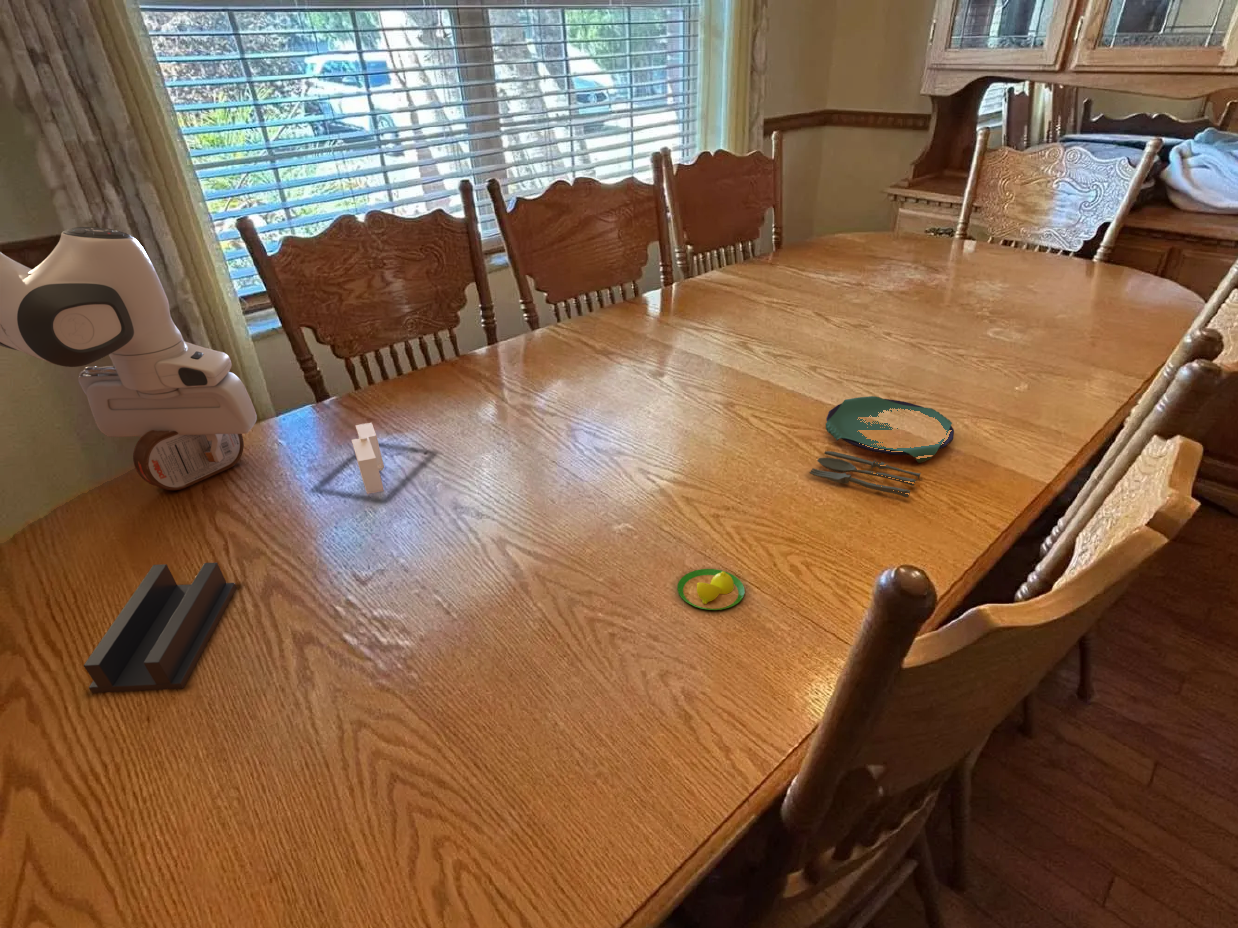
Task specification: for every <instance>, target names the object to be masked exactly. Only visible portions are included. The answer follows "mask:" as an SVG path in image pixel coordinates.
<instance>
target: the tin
mask: <svg viewBox="0 0 1238 928" xmlns="http://www.w3.org/2000/svg"><path fill="white" fill-rule="evenodd" d="M211 445H212V441H208V440H207V438H206V436H205V435H179V434H178V432H176V431H154V430H151V431H149V432H147V433H146V434H144V435H143V436H140V437H139V439H138V440H137V442H136V444H135V446H134V449H133V454H132V462H133V466H134V469H135V471H136V473H137V474H138V476H139V477H140V478H141V479H142V480H143V481H144V482H146V483H148V484H149V485H151V486H155V487H157V488H160V489H162V490H165V491H166V490H167V491H180V490H183V489H186V488H188V487H191V486H193V485H195V484H198V483H200V482H202V481H204V480H206V479H209V478H211V477H214V476H216V475H218V474H221V473H222V472H225V471H227V470H229V469H231V468H233V467H234V466H235V465H237V463H238V462H239V461H240V460H241V457H242V456H243V454H244V453H243V452H244V448H245V443H244V436H243V434H223V436H222V440H221V444H220V446H219V447H220V450H221V452H222V455H223V459H222V460H221V461H220V462H208V460H207V459H208V458H207V457H206V455H205V451H206V450H207V448H208V447H209V446H211Z"/></svg>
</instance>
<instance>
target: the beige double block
mask: <svg viewBox="0 0 1238 928" xmlns="http://www.w3.org/2000/svg"><path fill="white" fill-rule="evenodd" d="M354 426H355V429H356V430H355V431H356V433H357V437H358V438H353V439H351V443H352V448H353V451H354V455H355V458H356V461H357V465H358V469H359V473H360V476H361V479H362V483H363V486H364V488H365V492H366V494H367V495H370V494H374V493H380V492H384V491H385V489H384V486H383V482H382V477H381V474H380V471H383V469H384V468H385V465H384V461H383V456H382V453H381V448H380V445H379V441H378V437H377V433H376V430H375V428H374V425H373V422H366V423H360V424H355V425H354ZM388 498H389V496H388Z"/></svg>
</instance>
